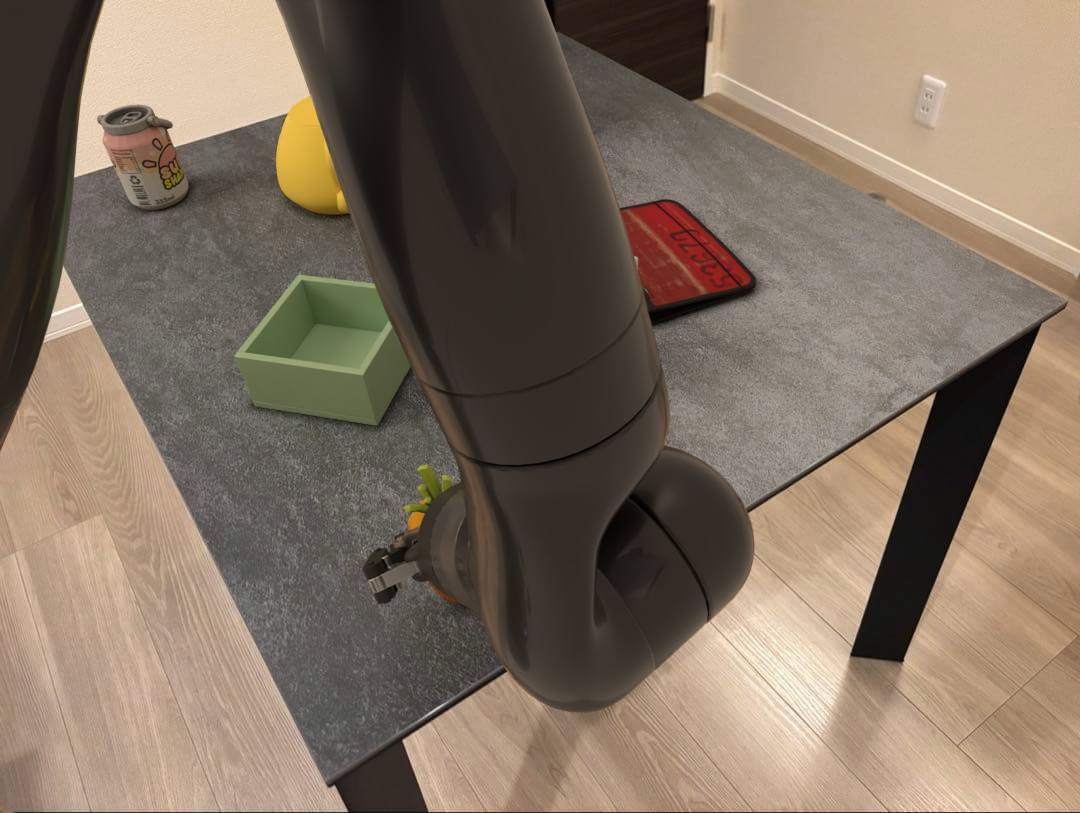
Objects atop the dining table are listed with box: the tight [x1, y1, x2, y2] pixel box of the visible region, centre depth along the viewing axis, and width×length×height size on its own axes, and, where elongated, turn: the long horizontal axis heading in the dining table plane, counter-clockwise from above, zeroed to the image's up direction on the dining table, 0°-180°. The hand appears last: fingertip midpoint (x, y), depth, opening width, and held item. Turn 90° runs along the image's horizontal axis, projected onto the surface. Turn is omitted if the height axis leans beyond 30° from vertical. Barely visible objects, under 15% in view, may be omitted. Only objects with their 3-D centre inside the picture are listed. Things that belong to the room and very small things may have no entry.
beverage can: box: [96, 104, 189, 211], centre depth 112 cm, size 9×8×12 cm
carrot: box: [403, 464, 461, 605], centre depth 61 cm, size 5×5×15 cm
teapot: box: [275, 95, 349, 215], centre depth 111 cm, size 25×18×14 cm
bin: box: [233, 274, 411, 427], centre depth 85 cm, size 14×14×7 cm
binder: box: [619, 198, 757, 325], centre depth 97 cm, size 16×2×21 cm
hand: (436, 531), depth 62 cm, fingers closed on carrot, 5 cm apart
